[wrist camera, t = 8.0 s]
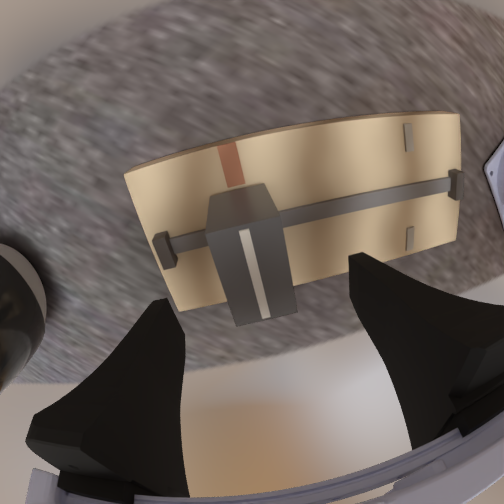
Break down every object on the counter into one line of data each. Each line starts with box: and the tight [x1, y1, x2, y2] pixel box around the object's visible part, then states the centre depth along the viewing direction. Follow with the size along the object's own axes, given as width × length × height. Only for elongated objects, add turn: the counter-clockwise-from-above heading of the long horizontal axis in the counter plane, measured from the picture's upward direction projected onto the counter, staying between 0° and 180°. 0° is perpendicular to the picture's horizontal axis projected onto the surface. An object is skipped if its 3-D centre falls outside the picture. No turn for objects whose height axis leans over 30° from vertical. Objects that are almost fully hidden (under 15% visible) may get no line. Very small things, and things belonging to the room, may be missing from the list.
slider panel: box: [124, 111, 464, 312], centre depth 18 cm, size 22×10×3 cm, turn 103°
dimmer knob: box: [205, 183, 298, 327], centre depth 15 cm, size 3×5×5 cm, turn 13°
